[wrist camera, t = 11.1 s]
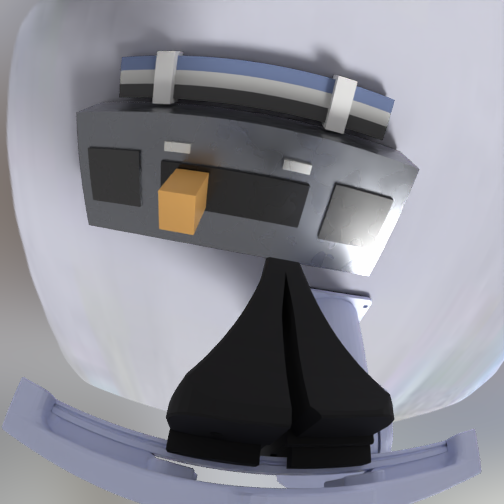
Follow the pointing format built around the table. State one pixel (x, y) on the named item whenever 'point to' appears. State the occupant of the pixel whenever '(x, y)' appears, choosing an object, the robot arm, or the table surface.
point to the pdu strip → (245, 181)
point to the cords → (257, 89)
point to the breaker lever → (182, 201)
